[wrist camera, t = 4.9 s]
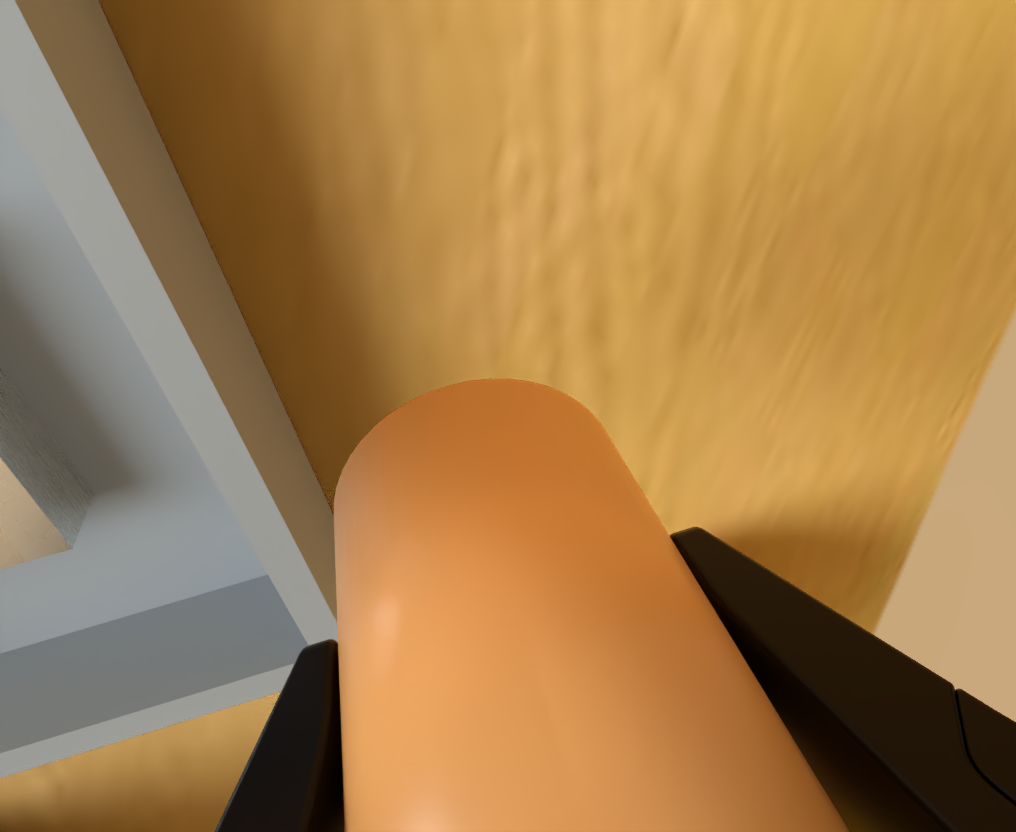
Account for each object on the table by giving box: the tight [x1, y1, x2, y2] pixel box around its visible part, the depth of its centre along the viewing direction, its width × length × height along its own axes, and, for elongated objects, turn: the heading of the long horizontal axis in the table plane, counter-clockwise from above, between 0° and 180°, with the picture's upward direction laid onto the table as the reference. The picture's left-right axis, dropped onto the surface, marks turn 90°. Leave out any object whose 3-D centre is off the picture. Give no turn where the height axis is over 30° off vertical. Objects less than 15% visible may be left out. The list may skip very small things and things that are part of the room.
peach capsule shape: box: [334, 379, 850, 832], centre depth 8 cm, size 4×4×7 cm
